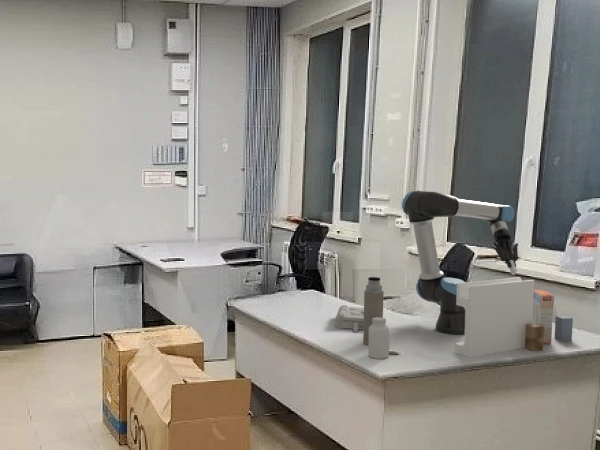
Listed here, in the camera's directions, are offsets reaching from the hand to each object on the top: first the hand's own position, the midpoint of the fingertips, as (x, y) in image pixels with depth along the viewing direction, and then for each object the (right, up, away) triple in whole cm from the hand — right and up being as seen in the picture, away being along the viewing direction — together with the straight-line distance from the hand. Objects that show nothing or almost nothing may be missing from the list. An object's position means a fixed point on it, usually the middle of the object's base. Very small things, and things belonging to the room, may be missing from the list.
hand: (514, 273), depth 286 cm
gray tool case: (-74, -25, +3) cm, 78 cm away
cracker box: (+5, -28, -20) cm, 34 cm away
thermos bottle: (-70, -27, -29) cm, 81 cm away
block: (-21, -29, -35) cm, 50 cm away
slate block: (+15, -28, -19) cm, 37 cm away
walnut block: (-4, -29, -35) cm, 45 cm away
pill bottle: (-70, -29, -48) cm, 89 cm away
